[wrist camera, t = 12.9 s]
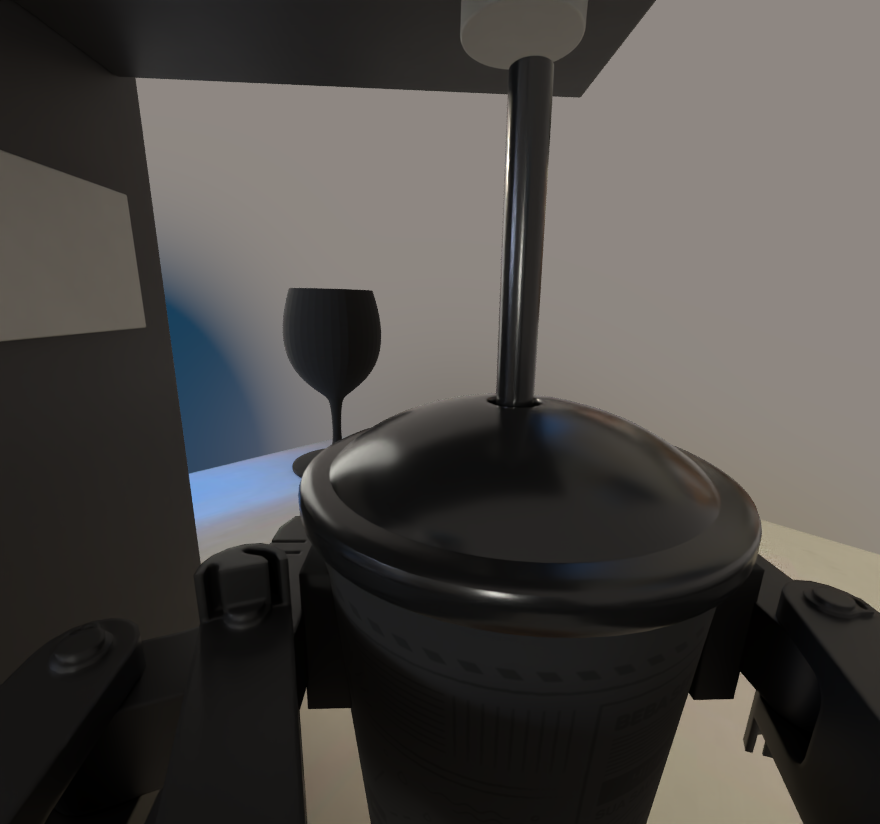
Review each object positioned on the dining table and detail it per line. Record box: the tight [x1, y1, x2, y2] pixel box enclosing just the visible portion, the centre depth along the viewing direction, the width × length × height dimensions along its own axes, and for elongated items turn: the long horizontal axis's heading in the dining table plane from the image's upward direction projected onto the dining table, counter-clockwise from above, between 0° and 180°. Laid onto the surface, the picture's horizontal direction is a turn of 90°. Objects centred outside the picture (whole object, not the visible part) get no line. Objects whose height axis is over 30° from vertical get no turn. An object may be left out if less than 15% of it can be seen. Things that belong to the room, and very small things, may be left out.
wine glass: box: [283, 288, 381, 477], centre depth 48 cm, size 10×10×20 cm
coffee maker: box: [0, 0, 656, 824], centre depth 11 cm, size 20×13×28 cm, turn 92°
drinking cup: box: [298, 56, 762, 824], centre depth 9 cm, size 8×8×20 cm
